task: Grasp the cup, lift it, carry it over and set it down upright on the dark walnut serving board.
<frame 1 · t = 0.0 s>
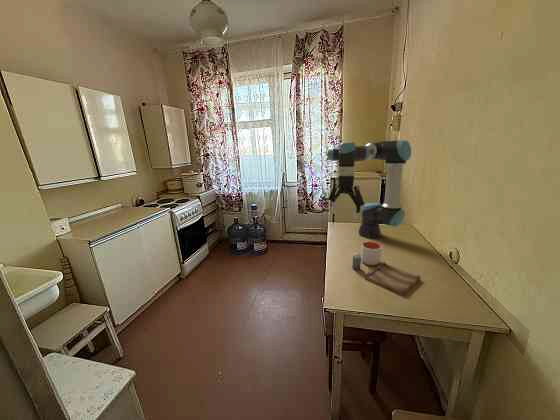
hand: (344, 215, 117), 28 cm above the table, fingers open, 13 cm apart
cup: (370, 262, 126), on the table
board: (391, 279, 109), on the table
shaker: (356, 268, 119), on the table
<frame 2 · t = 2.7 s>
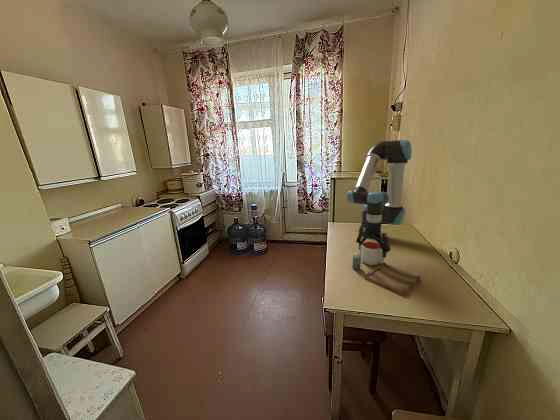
hand: (371, 258, 125), 2 cm above the table, fingers open, 11 cm apart
nothing on the table moved.
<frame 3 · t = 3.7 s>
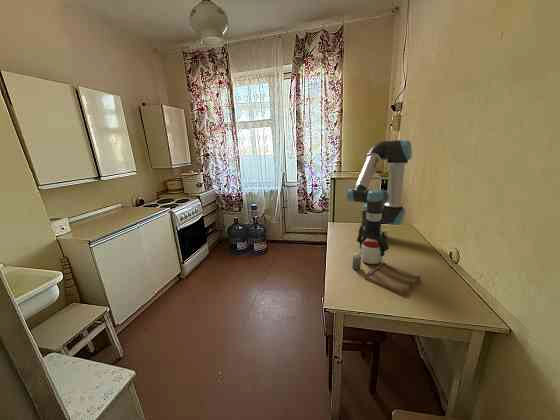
hand: (371, 257, 125), 3 cm above the table, fingers closed on cup, 10 cm apart
cup: (371, 261, 126), on the table, touching gripper
everything else where it was.
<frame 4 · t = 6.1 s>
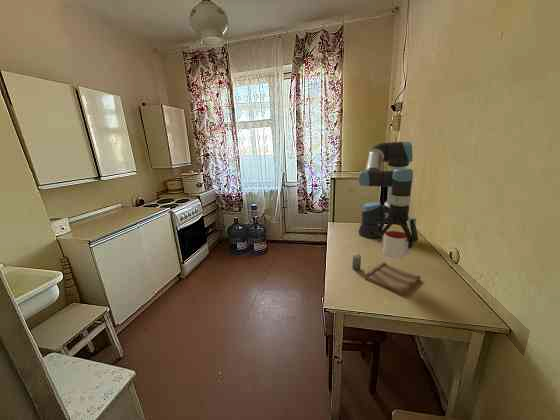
hand: (394, 250, 105), 15 cm above the table, fingers closed on cup, 10 cm apart
cup: (394, 254, 105), point 13 cm above the table, touching gripper
everything else where it was.
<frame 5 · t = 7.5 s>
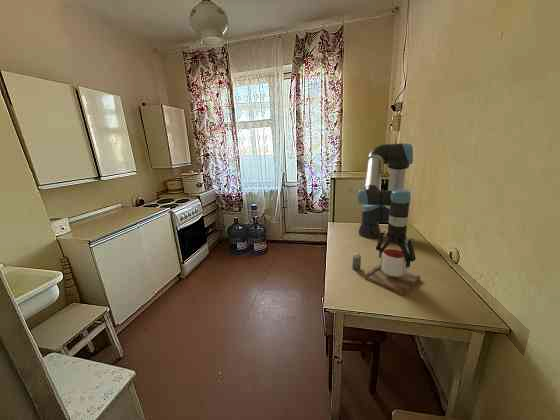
hand: (393, 268, 107), 6 cm above the table, fingers closed on cup, 10 cm apart
cup: (392, 272, 108), point 4 cm above the table, touching gripper
everything else where it was.
when the fingers open (3 cm above the table, at t = 8.6 s): cup stays where it is, resting on board.
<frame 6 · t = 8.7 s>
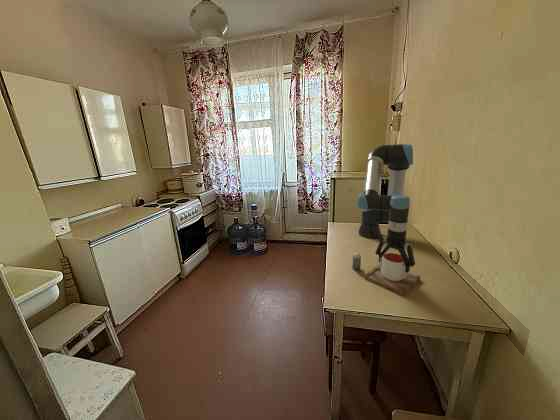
hand: (392, 272, 108), 3 cm above the table, fingers open, 10 cm apart
cup: (392, 276, 108), point 1 cm above the table, touching board
everything else where it was.
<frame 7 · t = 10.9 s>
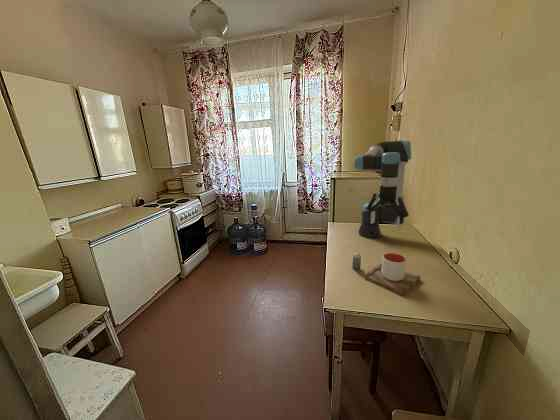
hand: (385, 226, 115), 23 cm above the table, fingers open, 13 cm apart
nothing on the table moved.
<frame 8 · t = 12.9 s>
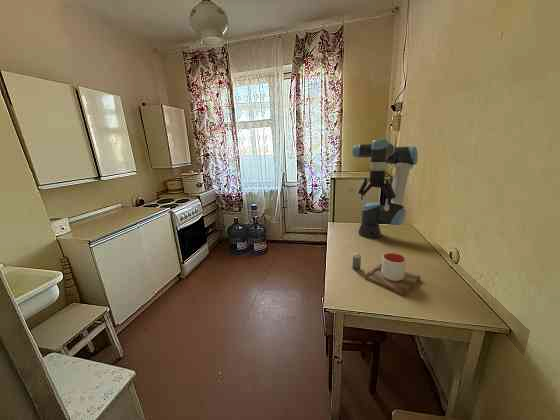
hand: (374, 208, 126), 29 cm above the table, fingers open, 13 cm apart
nothing on the table moved.
at the end: cup inside the target area on the board (0.1 cm from its centre), point 1.3 cm above the board's base; cup tilted 0°; the gripper is holding nothing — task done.
